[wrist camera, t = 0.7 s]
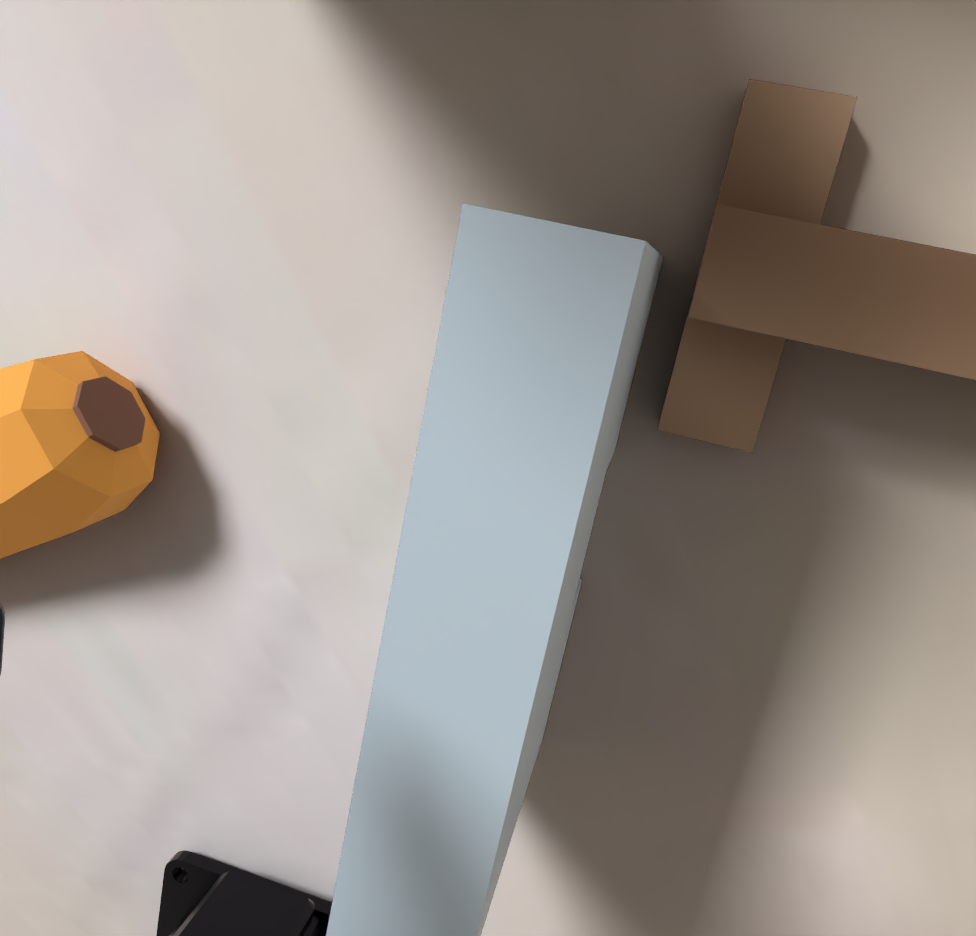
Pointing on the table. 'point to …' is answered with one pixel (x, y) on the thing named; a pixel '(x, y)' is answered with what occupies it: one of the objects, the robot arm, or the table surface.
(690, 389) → the walnut crossed blocks
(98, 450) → the carrot
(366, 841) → the pale blue flat block
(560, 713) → the table surface
